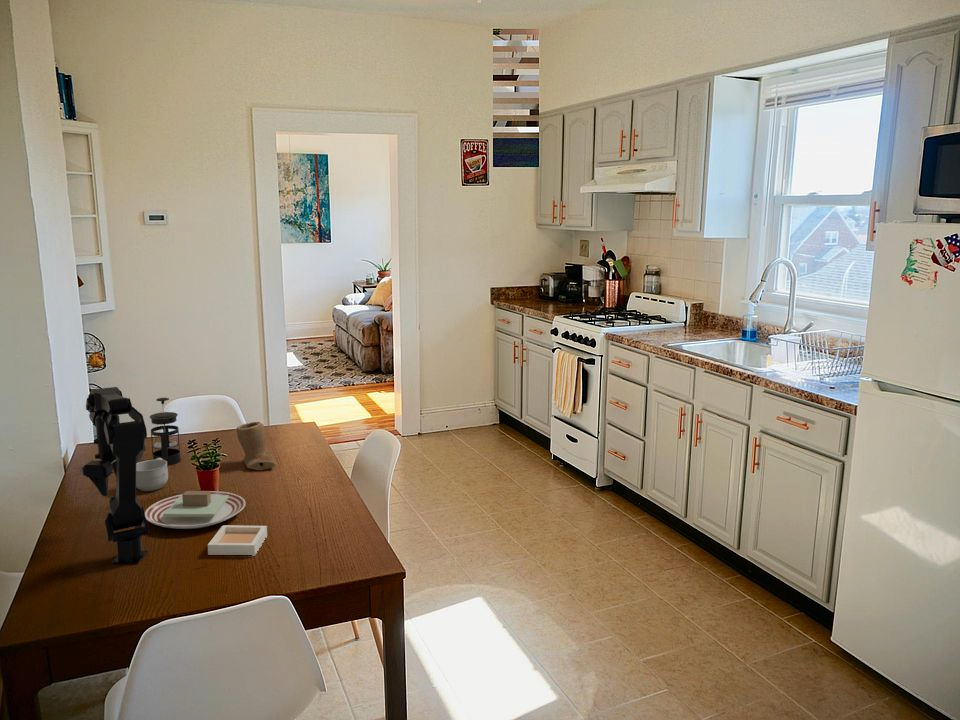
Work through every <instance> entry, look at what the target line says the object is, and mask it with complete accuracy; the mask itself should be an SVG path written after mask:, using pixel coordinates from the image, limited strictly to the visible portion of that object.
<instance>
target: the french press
mask: <svg viewBox="0 0 960 720" xmlns="http://www.w3.org/2000/svg"><path fill="white" fill-rule="evenodd" d="M169 400H170V398H168V397H158V398H156V399H155V401H157V402H161V405H162V406H161V407H162V412H157V413H156V412H155V413H153V414H150V415H149V419H150V421H151V424H152V425H158V426H155V427H152V428H151V429H150V437H151V440H150V441H151V452H152V460H154V459H157V458H162V459H163V460H165V461H167V467H168V466H173V465H176V464H179V463H181V461H182V458H181V447H180V446H181V445H180V432H179V430H180V428H179V426H177V425H174V423H176V422H177V416H178V415H179V414H178V413H177V412H173V411H165V407H164V404H165V402H166V401H169ZM169 424H171V425H169ZM172 424H173V425H172ZM159 425H160V426H159ZM160 430H161V431H163V432H157V431H160ZM169 430H171V431H169ZM176 434H177V439H178V441H176V440H170V436H173V435H174V436H175V435H176ZM153 436H154V437H160V441H158V442H155V443H153ZM176 447H178V449H177V448H176ZM154 449H155V451H154Z"/></svg>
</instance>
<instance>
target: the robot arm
mask: <svg viewBox="0 0 960 720" xmlns="http://www.w3.org/2000/svg"><path fill="white" fill-rule="evenodd" d="M85 403H86V404H85V409H86V411H87V412H88V413H89V414H88V415H89V416H88V417H89V420H90V422H91V423H92V424H93V426H94V427H95V432H96V438H95V439H93V444H94V445H97V453H96V454H95V455H94V458H95V460H90V461H89V462H88V463H86V464H85V465H83V467H81V470H82V472H81V473H82V476H84V477H85V478H89V480H90V481H91V482H92V484H94V486H95V487H96V489H97V490H98V491H99V493H100V494H101V496H103V497H107V496H108V494H109V477H110V476H111V475H112V474H113V473H114V474H115V475H114V476H115V480H116V481H115V489H116V490H115V496H114V497H110V499H109V501H108V502H109V503H108V513H106V516H105V519H104V524H105V525H104V526H105V530H106V535H107V536H106V537H107V539H106V540H107V541H108V542H112V544H113V543H116V549H117V552H116V553H117V556H115V558H114V559H113V560H112V561H111V562H112V564H116V565H117V564H121V565H125V564H126V565H127V564H128V565H129V564H130V565H133V564H134V565H137V564H139V563H140V562H141V561H142V560H143V559H144V558H145V557H146V556H147V555H148V554H149V550H143V541H142V537H143V536H148V535H149V525H148V520H146V517H145V509H144V507H143V506H142V505H141V503H140V500H139V498H138V497H137V488H136V463H138V462H139V461H140V460H141V459H142V458H143V455H144V452H146V451H147V448H146V445H145V441H146V439H147V438H148V431H147V427H146V423H145V420H144V416H143V414H142V413H141V412H140V411H138V410H137V409H136V408H135V407H133V405H132V401H131V399H130V397H124V396H123V392H122V390H120V389H119V387H117V386H112V387H103V388H96V389H95V388H94V389H93V388H92V389H91V390H90V393H89V394H88V396H87V398H86V402H85ZM127 414H128V416H129V417H130V418H131V419H132V420H133V421H126V422H120V415H127ZM97 459H98V460H97ZM138 526H140V527H138ZM134 527H135V528H134ZM130 528H131V529H130ZM125 529H126V530H125ZM115 531H117V532H115Z"/></svg>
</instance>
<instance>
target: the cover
mask: <svg viewBox="0 0 960 720" xmlns="http://www.w3.org/2000/svg"><path fill="white" fill-rule="evenodd" d="M210 491H211V490H186V491H184V492H183V493H182V494H183V495H181V494H180V495H181V496H180V497H179V498H178V499H177V500H176V501H175V502H174V503H173V504H172V505H171V506H170V507H169V508H168V510H167V511H166V512H165V513H164V514H163V516H164V517H214V516H215V515H216V514H217V512H218V511H219V510H220V508H221V507H222V506H223V505H224V503H225V502H226V501H227V499H228V498H229V495H211V493H210Z"/></svg>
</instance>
